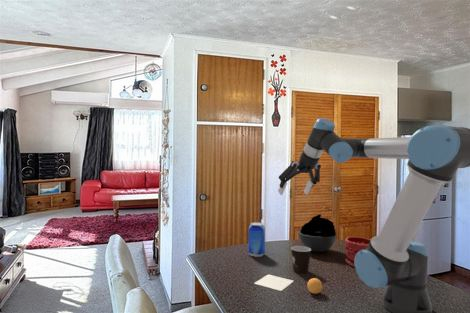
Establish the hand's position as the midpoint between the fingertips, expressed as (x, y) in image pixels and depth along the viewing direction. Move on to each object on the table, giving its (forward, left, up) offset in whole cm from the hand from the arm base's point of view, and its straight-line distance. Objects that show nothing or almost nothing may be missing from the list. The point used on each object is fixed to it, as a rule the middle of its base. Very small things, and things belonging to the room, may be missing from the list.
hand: (293, 193), depth 147 cm
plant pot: (-23, -26, -35) cm, 49 cm away
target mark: (0, +17, -35) cm, 39 cm away
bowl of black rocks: (+1, -35, -35) cm, 49 cm away
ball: (-17, +17, -32) cm, 40 cm away
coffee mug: (-3, -3, -35) cm, 35 cm away
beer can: (+24, -10, -35) cm, 43 cm away
